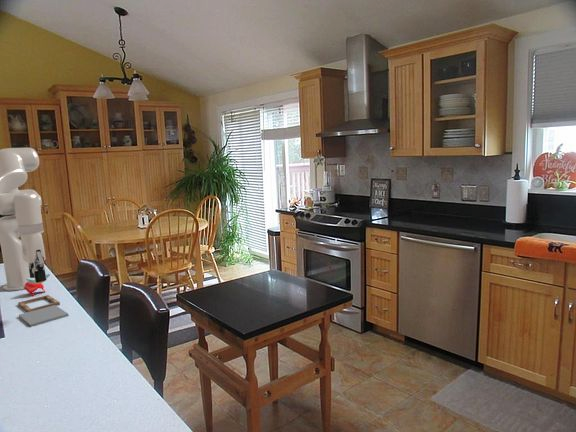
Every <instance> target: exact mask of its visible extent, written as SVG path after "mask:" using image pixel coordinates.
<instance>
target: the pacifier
mask: <svg viewBox="0 0 576 432" xmlns="http://www.w3.org/2000/svg"><path fill="white" fill-rule="evenodd" d="M34 271H35V268H34V267H33V269H32V272H33V273H34ZM45 275H46V281H48V280H49V278H50V276H51V274H50V273H48V274H45ZM34 277H35V274H34ZM26 280H27V281H28V283H33V284H39V283H42V284H43V283H45V282H46V281H43V282H38V283H36V281H35V278H26Z"/></svg>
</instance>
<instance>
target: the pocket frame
mask: <svg viewBox="0 0 576 432" xmlns="http://www.w3.org/2000/svg"><path fill="white" fill-rule="evenodd" d="M43 300H47V301H49V302H51V303H48V304H44V305H41V306H37V307H33V308H31V307H29V306H28V305H27V304H32V303H35V302H38V301H43ZM17 304H18V306H20V308H22V309H23V310H24V311H26V313H27V312H31V311H35V310H38V309H42V308H46V307H49V306H53V305H56V306H57V307H58V306H60V305H61V302H60V301H59V300H57V299H55V298H54V297H52V296H50V295H49V294H46V295H43V296H39V297H35V298H30V299H26V300H23V301H19V302H17Z"/></svg>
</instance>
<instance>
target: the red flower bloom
mask: <svg viewBox="0 0 576 432" xmlns="http://www.w3.org/2000/svg"><path fill="white" fill-rule="evenodd" d="M44 288H45V287H44V284H43V283H39V284H33V283H28V282H27V283H26V284H25V286H24V289H23V290H25V291H26V292H27V293H28V294H29V295H31V296H32V297H35V294H34V292H36V291H37V290H38V289H41V290H42V291H43V292H44V293H46V291H45V289H44Z"/></svg>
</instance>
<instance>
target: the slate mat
mask: <svg viewBox="0 0 576 432" xmlns="http://www.w3.org/2000/svg"><path fill="white" fill-rule="evenodd" d="M18 317H19V318H20V319H21V320H22V321H23V322H25V323H26V324H27V325H28V326H29V327H30V328H32V327H35V326H39V325H42V324H45V323H48V322H52V321H56V320H59V319H63V318H66V317H69V313H68V312H67V311H65V310H63V309H62V308H60V307H59V306H58V305H57V306H56V305H53V306H49V307H46V308H42V309H38V310H35V311H31V312H27V311H26V312H24V313H20V314H18Z"/></svg>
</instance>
